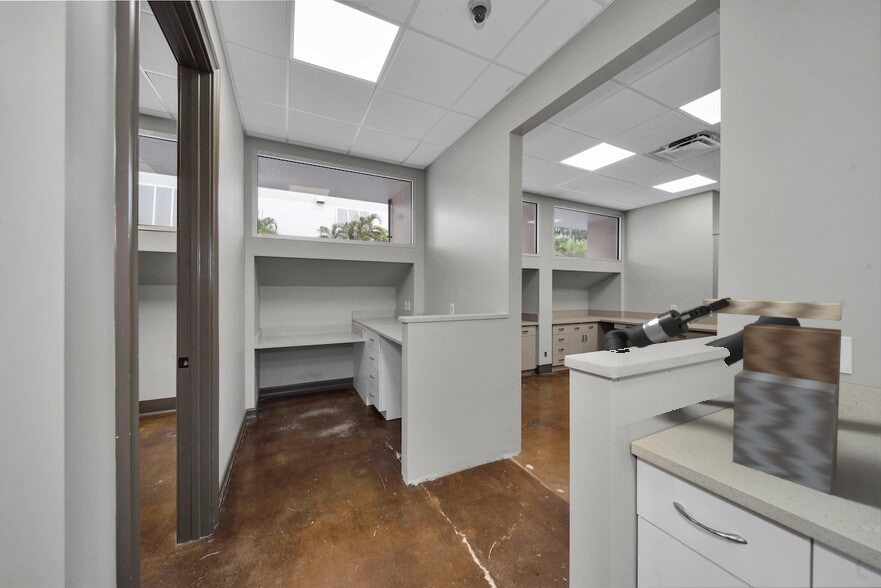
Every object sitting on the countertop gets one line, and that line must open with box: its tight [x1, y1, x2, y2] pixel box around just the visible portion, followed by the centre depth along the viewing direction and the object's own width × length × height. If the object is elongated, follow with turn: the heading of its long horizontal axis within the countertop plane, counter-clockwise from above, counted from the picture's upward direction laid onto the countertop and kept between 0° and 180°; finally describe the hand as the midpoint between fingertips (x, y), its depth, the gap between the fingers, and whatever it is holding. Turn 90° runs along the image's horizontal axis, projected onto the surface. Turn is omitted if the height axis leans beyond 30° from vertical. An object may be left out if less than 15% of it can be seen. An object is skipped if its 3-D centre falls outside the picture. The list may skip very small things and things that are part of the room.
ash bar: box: [701, 298, 843, 322], centre depth 80 cm, size 24×4×4 cm, turn 36°
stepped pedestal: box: [732, 322, 842, 495], centre depth 75 cm, size 15×16×32 cm
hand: (729, 301), depth 86 cm, fingers closed on ash bar, 3 cm apart
